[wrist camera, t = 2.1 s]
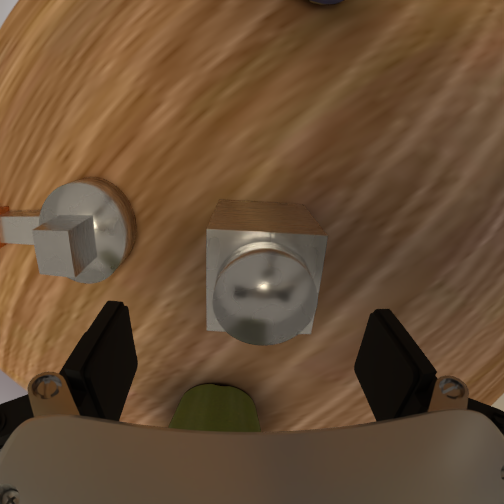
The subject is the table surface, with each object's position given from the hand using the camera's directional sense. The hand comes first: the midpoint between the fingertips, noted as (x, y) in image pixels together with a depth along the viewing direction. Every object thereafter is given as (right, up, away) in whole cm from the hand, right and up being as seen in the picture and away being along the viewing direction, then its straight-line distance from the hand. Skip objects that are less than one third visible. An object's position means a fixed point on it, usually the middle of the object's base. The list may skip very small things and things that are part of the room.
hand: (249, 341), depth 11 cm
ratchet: (-18, +6, +9) cm, 21 cm away
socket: (0, +4, +10) cm, 10 cm away
